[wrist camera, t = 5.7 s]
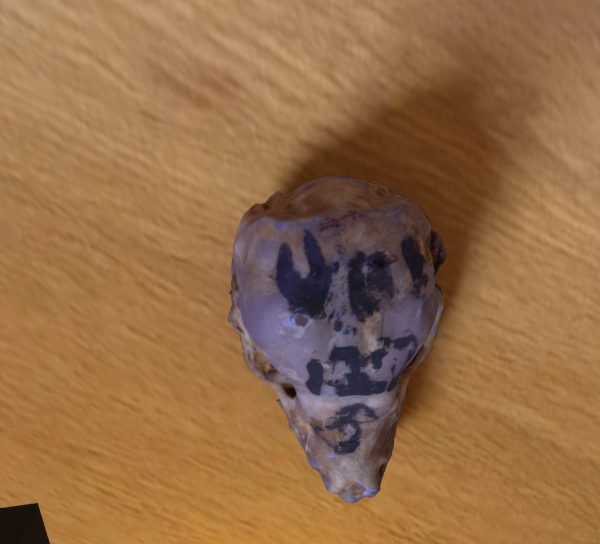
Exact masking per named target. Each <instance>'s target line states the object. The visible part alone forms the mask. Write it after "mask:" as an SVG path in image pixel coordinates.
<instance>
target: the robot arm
mask: <svg viewBox="0 0 600 544" xmlns="http://www.w3.org/2000/svg"><path fill="white" fill-rule="evenodd" d="M0 544H50V543H49V539H48V536H47V533H46V529H45V526H44V522H43V519H42V516H41V512H40V509H39V506H38V503H34V504H27V505H20V506H13V507H6V508H0Z"/></svg>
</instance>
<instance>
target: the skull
mask: <svg viewBox="0 0 600 544" xmlns="http://www.w3.org/2000/svg"><path fill="white" fill-rule="evenodd" d="M445 258H446V253H445V251H444V248H443V243H442V239H441V236H440V235H439V234H438V233H437V232H436V231H433V230H432V229H431V223H430V220H429V218H428V216H427V214H426V213H425V211H424V210H423V208H422V207H421V205H420V204H419V202H417V201H416V200H415V199H413V198H412V197H411V196H409V195H407V194H406V193H404V192H402V191H400V190H394V191H391V190H390V189H388V188H387V187H386V186H384V185H383V184H381V183H378V182H375V181H370V182H368V183H367V182H365V181H363V180H360V179H356V178H352V177H347V176H337V175H330V176H325V177H321V178H318V179H315V180H312V181H309V182H307V183H305V184H303V185H301V186H299V187H298V188H296V189H294V190H293V191H291V192H289V193H287V194H282V193H281V191H278V192H276V193H275V194H274V195H273V196H271V197H270V198H269V199H268V200H267V202H266V203H263V204H255V205H253V206H252V207H251V208H250V209H249V210H248V211H247V212H246V213H245V214H244V216H243V218H242V220H241V222H240V224H239V227H238V231H237V236H236V239H235V242H234V247H233V259H232V265H231V266H232V281H231V287H232V290H231V291H230V292H229V294H231V299H232V307H231V309H230V312H229V316H228V320H229V323H230V324H231V325H233V326H234V328H235V329H236V331H237V333H238V334H239V336H240V341H241V343H242V348H243V354H244V359H245V361H246V364H247V366H248V368H249V369H251V370H252V372H253V373H254V374H255V375H256V376H258V377H259V378H260V379H261V380H263V381H264V382H265V383H267V384H268V385H269V386H270V387H271V388H272V389H273V390H274V391H275V393H276V394H277V396H278V398H279V399H278V400H276V401H277V402H278V403H279V405H280V406H281V407H282V408H283V410H284V411H285V414H286V416H287V418H288V420H289V425H290V428H291V429H292V431H293V432H294V434H295V435H296V437H297V439H298V441H299V442H300V444H301V445H302V447H303V449H304V451H305V453H306V458H307V461H308V463H309V464H310V466H311V467H312V468H313V469H315V470H317V471H318V472H319V473H320V475H321V477H322V479H323V481H324V483H325V486H326V489H327V491H328V492H330V493H337V494H338V495H339V497H340V498H341V499H342V500H344V501H346V502H349V503H355V502H358V501H359V500H360V499H362V498H363V497H368V498H372V497H374V496H375V495H376V494H377V493H378V492H379V490H380V485H381V481H382V478H383V474H384V472H385V469H386V466H387V463H388V462H389V460H390V458H391V455H392V451H393V445H394V438H395V434H396V427H397V423H398V420H399V417H400V415H401V409H402V406H403V403H404V400H405V396H406V394H407V387H408V382H409V380H410V378H411V376H412V375H413V374H414V372H415V371H416V370H417V369H418V368H419V367H420V365H421V364H422V362H423V361H424V359H425V358H426V357H427V355H428V354H429V352H430V351H431V348H432V346H433V343H434V340H435V338H436V335H437V330H438V325H439V320H440V317H441V315H442V312H443V309H444V298H443V295H442V292H441V289H440V287H439V286H438V285H437V284H436V283H435V281H434V277H435V275H436V273H437V271H438V269H439V267H440V265H441V264H443V262H444V260H445Z"/></svg>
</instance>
